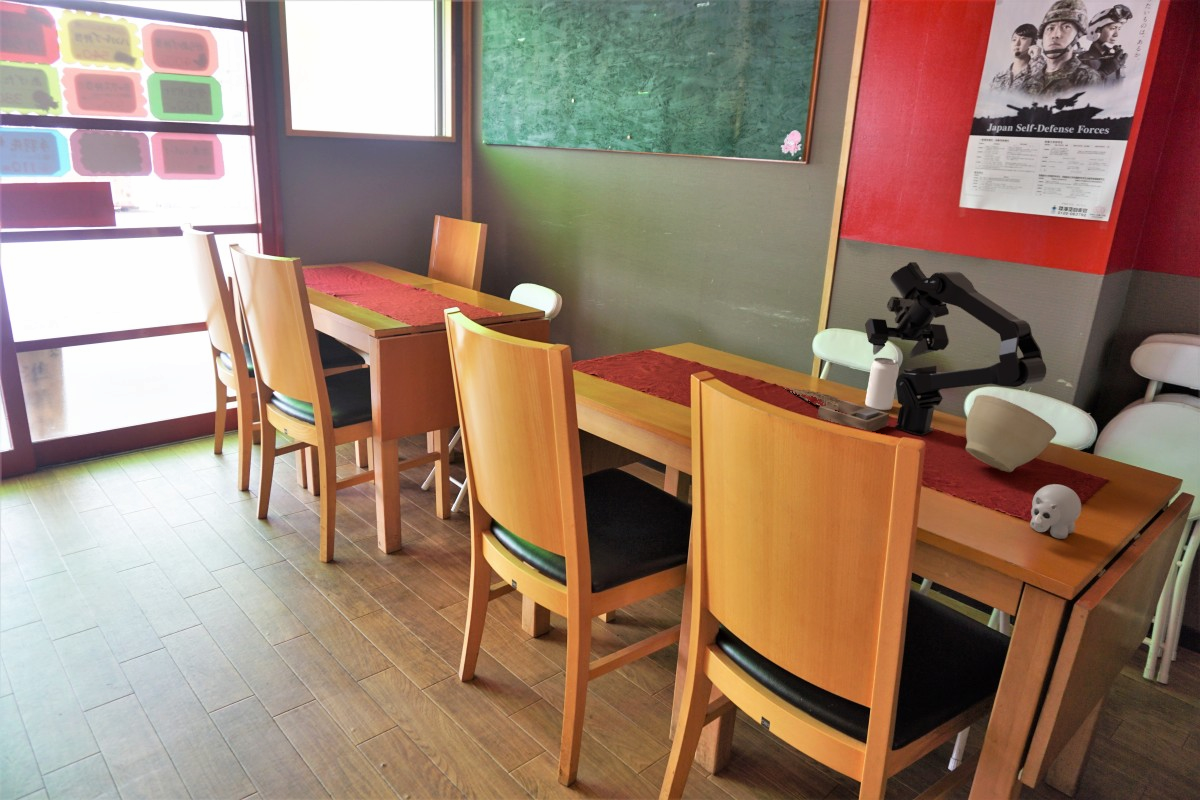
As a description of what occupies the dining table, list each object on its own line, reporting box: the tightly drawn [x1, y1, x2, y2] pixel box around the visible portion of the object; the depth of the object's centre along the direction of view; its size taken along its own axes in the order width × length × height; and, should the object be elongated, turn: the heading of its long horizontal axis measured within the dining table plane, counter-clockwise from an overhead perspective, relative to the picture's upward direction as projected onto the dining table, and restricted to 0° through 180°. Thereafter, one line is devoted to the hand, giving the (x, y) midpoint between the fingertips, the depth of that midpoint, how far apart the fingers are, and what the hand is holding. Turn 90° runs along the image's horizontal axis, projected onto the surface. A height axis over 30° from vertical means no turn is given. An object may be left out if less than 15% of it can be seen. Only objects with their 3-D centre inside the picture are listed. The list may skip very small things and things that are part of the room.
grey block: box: [856, 408, 879, 420], centre depth 182 cm, size 4×7×4 cm, turn 133°
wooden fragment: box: [784, 387, 841, 411], centre depth 199 cm, size 26×11×1 cm, turn 32°
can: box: [864, 357, 900, 411], centre depth 196 cm, size 6×6×12 cm
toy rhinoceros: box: [1029, 483, 1082, 540], centre depth 132 cm, size 7×12×8 cm, turn 130°
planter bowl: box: [965, 394, 1057, 473], centre depth 158 cm, size 16×16×11 cm
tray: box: [816, 399, 890, 432], centre depth 184 cm, size 12×10×3 cm
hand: (892, 354), depth 191 cm, fingers open, 9 cm apart
